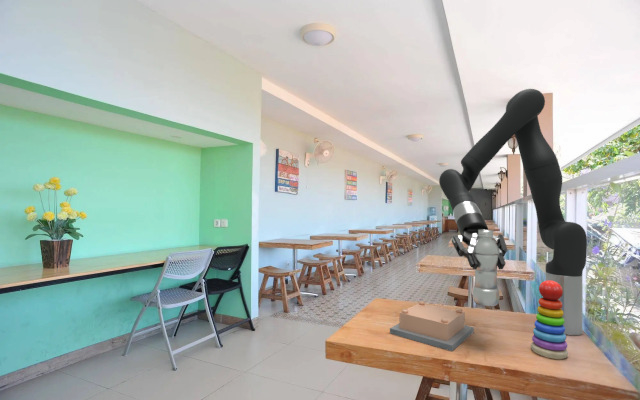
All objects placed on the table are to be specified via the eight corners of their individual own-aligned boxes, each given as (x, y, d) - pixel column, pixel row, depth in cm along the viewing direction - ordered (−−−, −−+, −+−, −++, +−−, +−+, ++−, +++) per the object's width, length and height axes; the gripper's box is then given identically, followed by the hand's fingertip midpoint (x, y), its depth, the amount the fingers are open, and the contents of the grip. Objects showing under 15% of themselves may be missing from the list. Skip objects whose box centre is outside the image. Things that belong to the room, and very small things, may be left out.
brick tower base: (416, 318, 113) (416, 297, 113) (473, 332, 101) (473, 309, 101) (389, 333, 99) (390, 310, 99) (452, 351, 87) (452, 324, 87)
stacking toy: (527, 352, 87) (527, 279, 87) (535, 344, 93) (535, 275, 93) (564, 363, 81) (564, 285, 82) (570, 353, 87) (570, 280, 87)
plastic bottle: (468, 305, 90) (467, 230, 90) (479, 300, 94) (478, 228, 95) (493, 310, 85) (492, 231, 85) (503, 305, 90) (503, 230, 90)
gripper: (448, 211, 98) (465, 259, 86) (498, 211, 97) (522, 259, 85) (442, 228, 103) (457, 275, 91) (489, 228, 103) (511, 275, 91)
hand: (488, 267), depth 88 cm, fingers closed on plastic bottle, 6 cm apart
